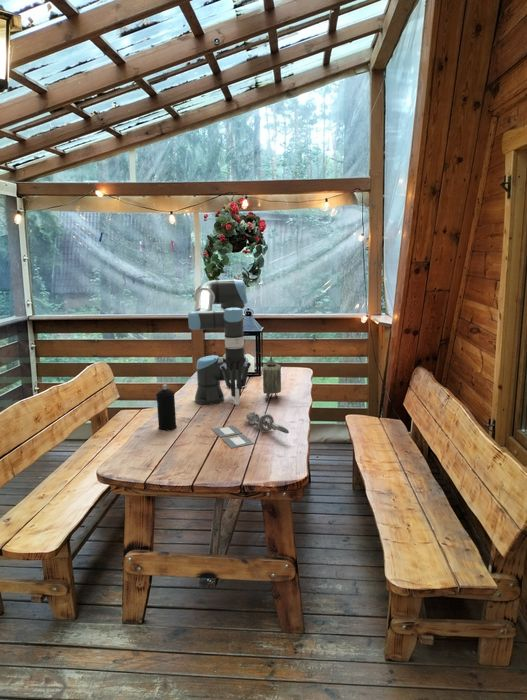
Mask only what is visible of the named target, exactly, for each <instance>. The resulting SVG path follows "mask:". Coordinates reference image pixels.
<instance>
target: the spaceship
mask: <svg viewBox="0 0 527 700" xmlns="http://www.w3.org/2000/svg"><path fill="white" fill-rule="evenodd" d="M245 417H246V420H247V421H248V422H249V423H250V425H251V426H252V427H254V428H258V429H259V430H260V431H261V432H262V433H269V432H270V431H271V430H273V431H278V432H279V431H280V432H282V433H285V434H289V429H287V428H286V427H285V426H283V425H282V426H281V425H279V424H277V423H276V422H275V419H274V418H273V416H272V415H271V414H268V413H265V414H263V413H262V414H257V413H256V412H250V413H247V414H246V415H245ZM255 423H256V424H255ZM253 424H255V425H253Z"/></svg>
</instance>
